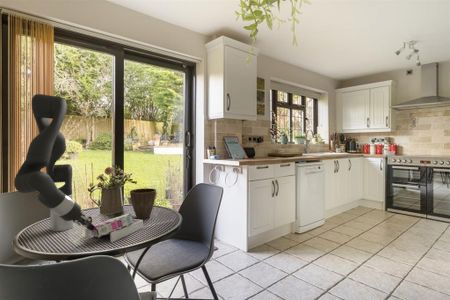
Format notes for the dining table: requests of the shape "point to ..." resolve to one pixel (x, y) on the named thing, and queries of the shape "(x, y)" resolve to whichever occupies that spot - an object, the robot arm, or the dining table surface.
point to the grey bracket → (120, 230)
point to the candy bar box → (112, 225)
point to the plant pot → (143, 202)
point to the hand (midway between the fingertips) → (92, 228)
